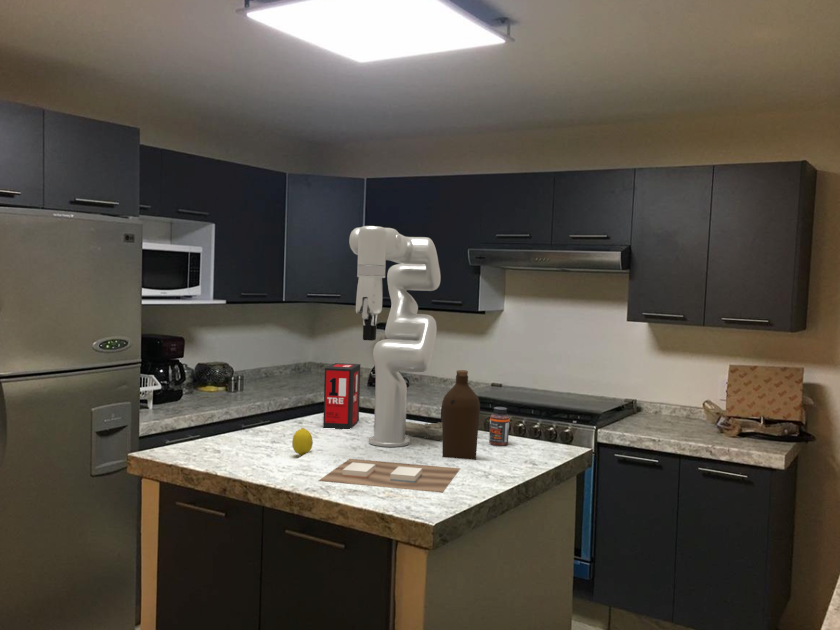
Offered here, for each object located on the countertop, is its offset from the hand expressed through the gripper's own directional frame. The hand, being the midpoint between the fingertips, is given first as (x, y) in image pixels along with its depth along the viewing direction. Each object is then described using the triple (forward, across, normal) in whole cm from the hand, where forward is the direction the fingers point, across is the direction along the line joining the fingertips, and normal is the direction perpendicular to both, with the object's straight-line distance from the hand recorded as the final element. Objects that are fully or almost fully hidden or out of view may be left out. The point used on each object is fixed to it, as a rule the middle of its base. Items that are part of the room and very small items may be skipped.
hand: (369, 340), depth 208 cm
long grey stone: (+34, -41, +7) cm, 54 cm away
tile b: (+31, +15, +16) cm, 38 cm away
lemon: (+33, +1, -18) cm, 38 cm away
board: (+33, +17, +12) cm, 39 cm away
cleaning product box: (+33, -48, -23) cm, 63 cm away
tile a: (+31, +15, +4) cm, 34 cm away
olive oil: (+33, -11, +24) cm, 42 cm away
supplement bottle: (+33, -36, +32) cm, 59 cm away
